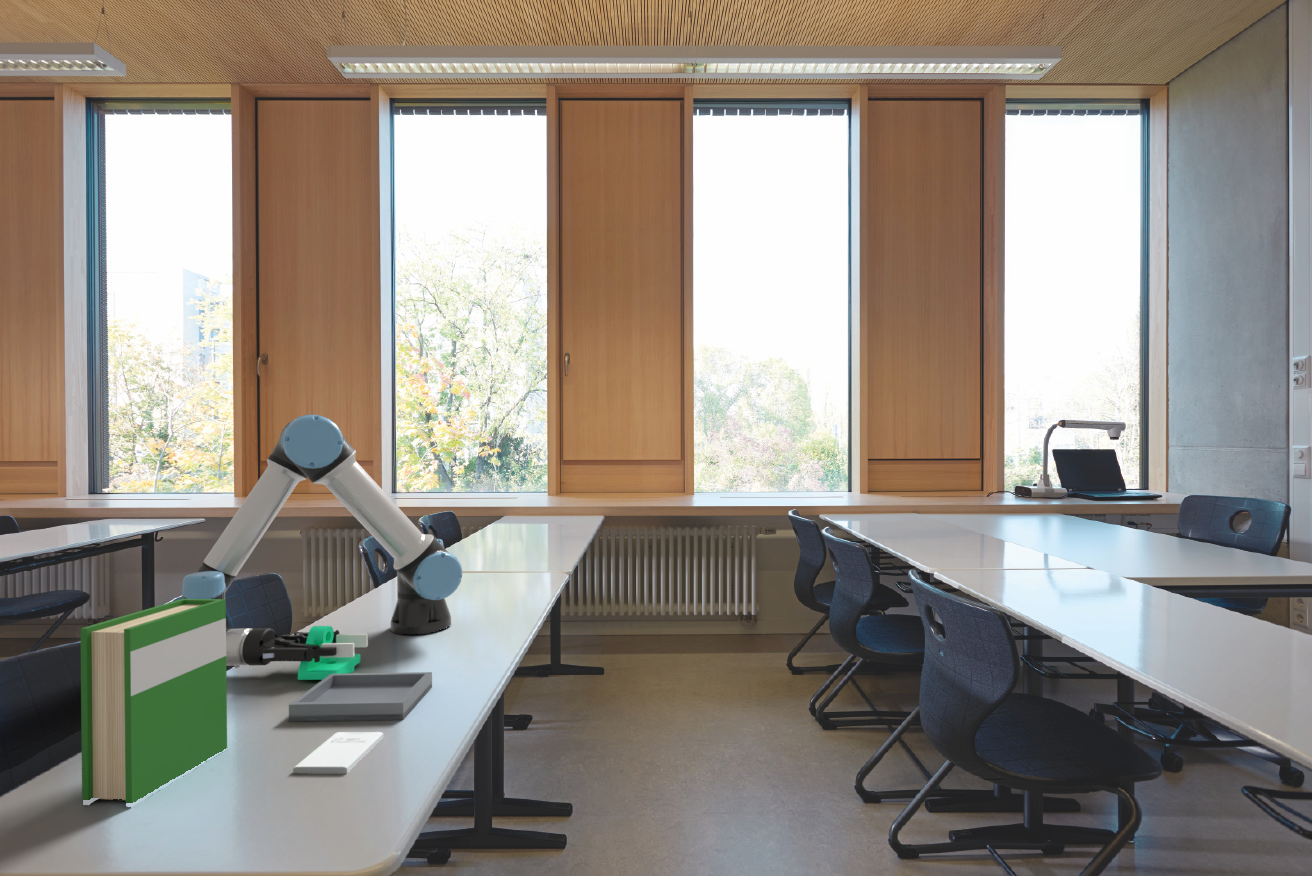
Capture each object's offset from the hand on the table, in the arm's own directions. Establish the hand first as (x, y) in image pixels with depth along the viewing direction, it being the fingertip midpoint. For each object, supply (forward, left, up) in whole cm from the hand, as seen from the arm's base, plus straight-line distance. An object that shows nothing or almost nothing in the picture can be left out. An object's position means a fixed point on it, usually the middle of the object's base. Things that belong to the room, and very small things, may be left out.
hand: (360, 645), depth 146 cm
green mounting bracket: (0, -6, -6) cm, 9 cm away
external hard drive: (+38, +13, -7) cm, 41 cm away
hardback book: (+44, -11, -6) cm, 46 cm away
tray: (+17, +8, -6) cm, 20 cm away
